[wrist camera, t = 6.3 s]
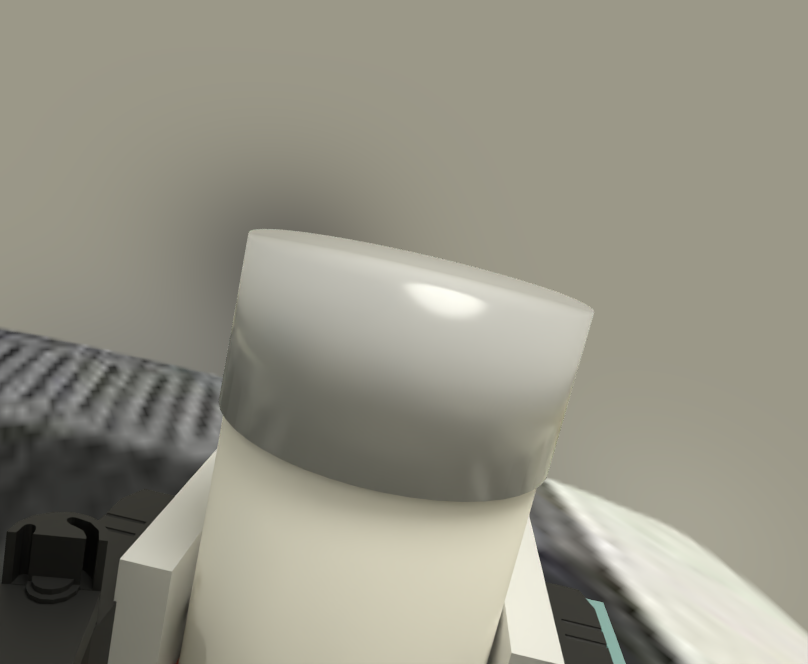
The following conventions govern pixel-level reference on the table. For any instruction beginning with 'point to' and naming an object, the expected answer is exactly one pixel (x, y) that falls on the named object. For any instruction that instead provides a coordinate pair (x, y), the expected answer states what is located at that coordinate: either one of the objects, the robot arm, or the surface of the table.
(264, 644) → the fuse
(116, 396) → the table surface
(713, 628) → the table surface
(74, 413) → the table surface
